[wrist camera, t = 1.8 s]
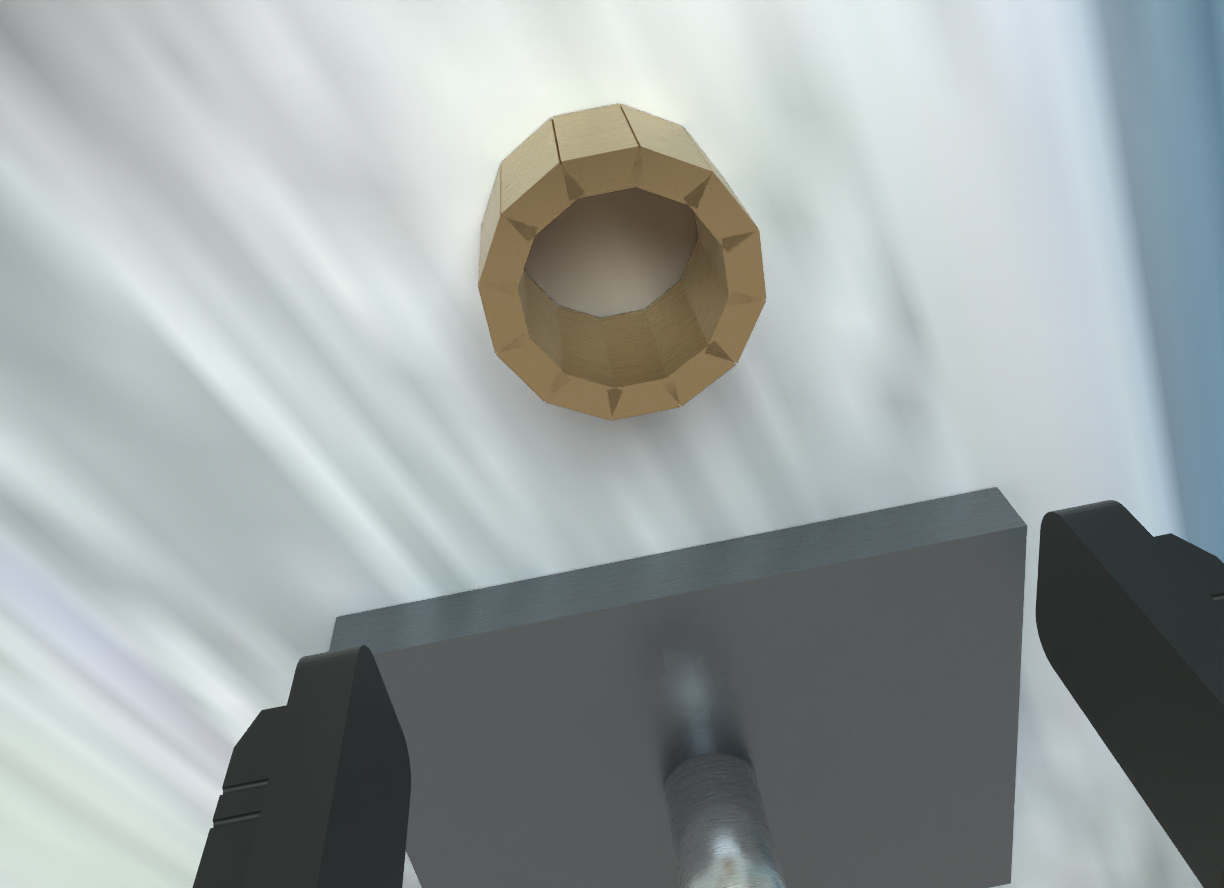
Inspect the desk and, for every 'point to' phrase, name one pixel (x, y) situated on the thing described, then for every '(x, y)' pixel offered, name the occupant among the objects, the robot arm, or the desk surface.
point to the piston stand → (723, 711)
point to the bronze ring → (636, 341)
